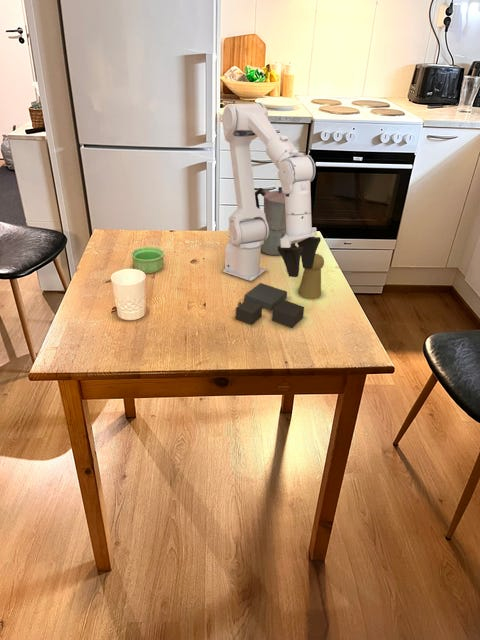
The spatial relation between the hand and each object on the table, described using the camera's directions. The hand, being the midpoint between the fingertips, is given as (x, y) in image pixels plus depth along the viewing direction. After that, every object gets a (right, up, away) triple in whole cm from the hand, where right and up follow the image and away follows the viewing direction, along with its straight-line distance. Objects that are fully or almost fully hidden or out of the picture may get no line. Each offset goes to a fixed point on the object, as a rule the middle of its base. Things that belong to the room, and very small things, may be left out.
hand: (300, 272), depth 115 cm
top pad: (-12, -10, +5) cm, 17 cm away
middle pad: (-3, -11, +5) cm, 12 cm away
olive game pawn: (+4, -4, +17) cm, 18 cm away
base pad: (-8, -6, +13) cm, 16 cm away
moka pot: (-4, +11, +39) cm, 41 cm away
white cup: (-40, -10, +5) cm, 42 cm away
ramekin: (-40, +4, +25) cm, 48 cm away
